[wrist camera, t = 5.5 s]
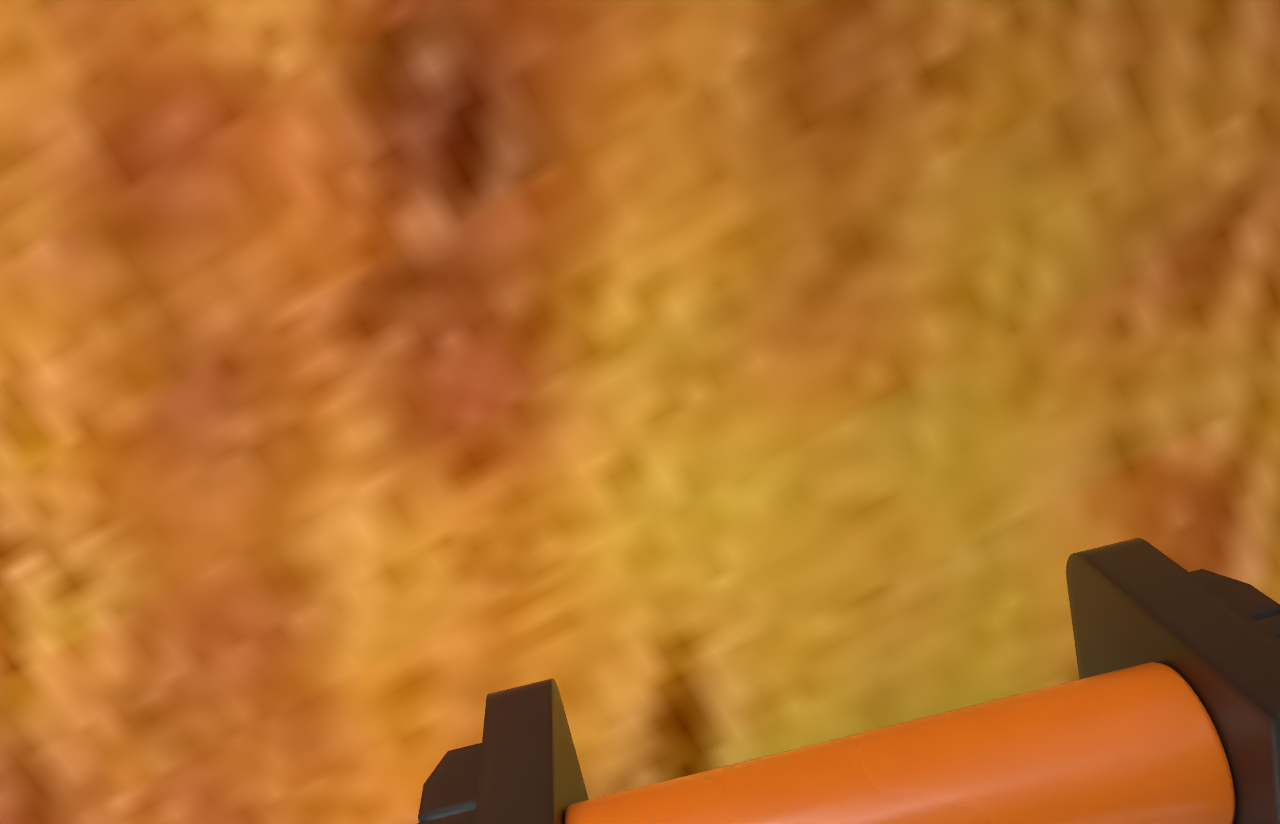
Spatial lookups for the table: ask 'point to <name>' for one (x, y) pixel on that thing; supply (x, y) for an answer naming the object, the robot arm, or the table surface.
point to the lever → (976, 767)
